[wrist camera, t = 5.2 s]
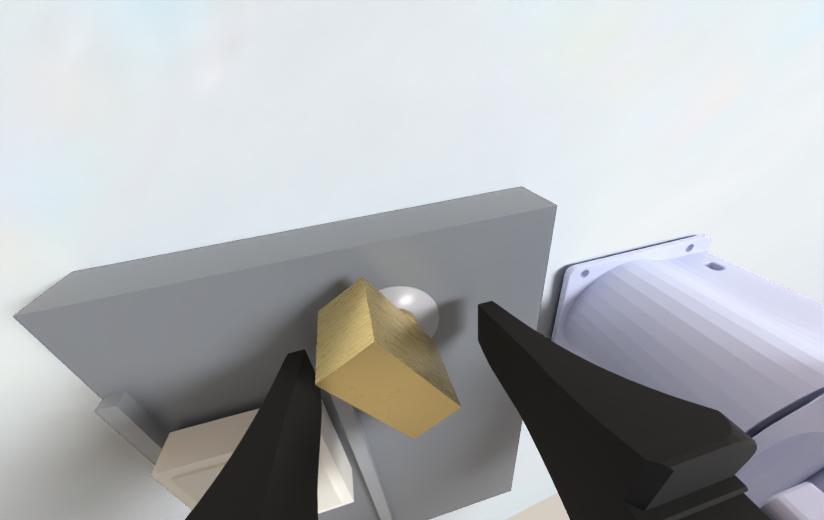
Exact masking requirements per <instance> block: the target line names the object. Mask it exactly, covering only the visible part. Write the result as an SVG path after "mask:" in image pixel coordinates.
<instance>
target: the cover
mask: <svg viewBox="0 0 824 520" xmlns="http://www.w3.org/2000/svg"><path fill="white" fill-rule="evenodd" d="M321 401H322V399H321ZM259 409H260V408H259ZM259 409H255V410H251V411H247V412H244V413H240V414H236V415H233V416H229V417H225V418H222V419H218V420H214V421H211V422H207V423H203V424H199V425H196V426H192V427H188V428H185V429H181V430H177V431H174V432H170V433H169V435H168V438H167V440H166V442H165V444H164V446H163V449H162V451H161V453H160V455H159V458H158V460H157V462H156V464H155V466H154V469H153V471H152V473H151V475H150V476H152V477H153V478H154V479H155V480H156V481H158V482H159V483H160V484H161V485H162V486H164V487H165V488H166V489H167V490H169V491H170V492H171V493H172V494H173V495H175V496H176V497H177V498H178V499H179V500H181V501H182V502H183V503H184V504H185V505H187V506H188V507H189V508H190V509H191V510H193V509H194V507H195V506H196V505H197V503H198V502H199V501H200V499H201V498H202V497H203V495H204V494H205V492H206V491H207V490H208V488H209V487H210V486H211V484H212V483H213V481H214V480H215V479H216V477H217V476H218V474H219V473H220V472H221V470H222V469H223V467H224V466H225V464H226V463H227V461H228V460H229V458H230V457H231V455H232V454H233V452H234V451H235V449H236V447H237V446H238V444H239V443H240V441H241V439H242V438H243V436H244V434H245V433H246V431H247V429H248V428H249V426H250V424H251V423H252V421H253V419H254V417H255V416H256V414H257V412H258V410H259ZM317 494H318V514H319V513H322V512H325V511H328V510H331V509H334V508H337V507H340V506H343V505H346V504H349V503H352V502H354V493H353V477H352V468H351V465H350V463H349V461H348V458H347V456H346V454H345V451H344V449H343V447H342V445H341V442H340V440H339V438H338V435H337V433H336V431H335V428H334V426H333V424H332V422H331V419H330V417H329V415H328V412H327V410H326V408H325V405H324V403H323V401H322V420H321V437H320V452H319V468H318V492H317Z"/></svg>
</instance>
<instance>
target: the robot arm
mask: <svg viewBox="0 0 824 520" xmlns="http://www.w3.org/2000/svg"><path fill="white" fill-rule="evenodd" d="M710 242H711V238H710V237H708V236H706V235H697V236H693V237H689V238H685V239H680V240H676V241H672V242H668V243H664V244H660V245H655V246H651V247H647V248H643V249H639V250H634V251H630V252H626V253H622V254H618V255H613V256H609V257H605V258H601V259H597V260H592V261H588V262H584V263H580V264H576V265H573V266H570V267H569V268H568V269H567V270H566V272H565V274H564V279H563V284H562V289H561V294H560V299H559V304H558V309H557V314H556V319H555V324H554V329H553V334H552V339H551V340H549V339H548V338H546V337H545V336H543V335H541V334H540V333H538V332H537V331H535V330H534V329H532V328H531V327H529V326H528V325H526V324H525V323H523V322H522V321H520V320H519V319H517V318H516V317H515V316H513V315H512V314H510V313H509V312H508V311H506V310H505V309H503V308H502V307H501V306H499V305H498V304H496V303H495V302H493V301H489V302H485V303H481V304H478V342H479V344H480V346H481V349H482V351H483V353H484V355H485V357H486V359H487V362H488V364H489V365H490V367H491V369H492V370H493V372H494V374H495V375H496V377H497V378H498V380H499V382H500V383H501V385H502V387H503V388H504V390H505V391H506V393H507V395H508V396H509V398H510V400H511V401H512V403H513V404H514V406H515V408H516V409H517V411H518V412H519V414H520V416H521V418H522V419H523V421H524V423H525V425H526V427H527V429H528V431H529V433H530V435H531V437H532V439H533V441H534V443H535V445H536V447H537V449H538V451H539V453H540V455H541V457H542V459H543V461H544V463H545V466H546V468H547V470H548V472H549V474H550V476H551V478H552V480H553V483H554V485H555V487H556V489H557V491H558V494H559V496H560V498H561V500H562V502H563V505H564V507H565V509H566V511H567V513H568V516H569V518H570V520H824V304H823V303H820V302H818V301H816V300H814V299H811V298H809V297H807V296H805V295H802V294H800V293H798V292H796V291H793V290H791V289H789V288H787V287H785V286H782V285H780V284H778V283H776V282H773V281H771V280H769V279H767V278H764V277H762V276H760V275H758V274H755V273H753V272H751V271H749V270H746V269H744V268H742V267H740V266H738V265H735V264H733V263H731V262H729V261H726V260H724V259H722V258H720V257H717V256H715V255H713V254H711V253H708V252H706V250H707V248H708V246H709V244H710ZM315 376H316V373H315V371H314V368H313V366H312V364H311V362H310V359H309V357H308V355H307V353H306V350H305V349H303V350H299V351H296V352H292V353H288V354H287V356H286V357H285V359H284V361H283V363H282V366H281V368H280V370H279V372H278V374H277V376H276V378H275V380H274V382H273V384H272V386H271V388H270V390H269V392H268V394H267V395H266V397H265V399H264V401H263V403H262V405H261V407H260V409H259V410H258V412H257V414H256V416H255V417H254V419H253V421H252V423H251V424H250V426H249V428H248V429H247V431H246V433H245V434H244V436H243V438H242V439H241V441H240V443H239V444H238V446H237V447H236V449H235V451H234V452H233V454H232V455H231V457H230V458H229V460H228V461H227V463H226V464H225V466H224V467H223V469H222V470H221V472H220V473H219V474H218V476H217V477H216V479H215V480H214V481H213V483H212V484H211V486H210V487H209V488H208V490H207V491H206V492H205V494H204V495H203V497H202V498H201V499H200V501H199V502H198V503H197V505H196V506H195V507H194V509H193V510H192V511H191V513H190V514H189V515H188V516H187V518H186V519H185V520H318V494H317V492H318V468H319V452H320V437H321V420H322V401H321V388H320V387H318V386H316V385H315Z"/></svg>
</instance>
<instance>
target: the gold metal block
mask: <svg viewBox="0 0 824 520" xmlns="http://www.w3.org/2000/svg"><path fill="white" fill-rule="evenodd" d="M315 385H316V386H318V387H320V388H322V389H323V390H325V391H327V392H329V393H331V394H333V395H334V396H336V397H338V398H340V399H342V400H343V401H345V402H347V403H349V404H351V405H353V406H354V407H356V408H358V409H360V410H362V411H364V412H365V413H367V414H369V415H371V416H373V417H374V418H376V419H378V420H380V421H382V422H384V423H385V424H387V425H389V426H391V427H393V428H395V429H396V430H398V431H400V432H402V433H404V434H406V435H407V436H409V437H411V438H413V439H415V438H416V437H418V436H419V435H421V434H422V433H424V432H425V431H427V430H428V429H430V428H431V427H433V426H434V425H436V424H437V423H439V422H440V421H442V420H443V419H445V418H446V417H448V416H449V415H451V414H452V413H454V412H455V411H457V410H458V409H460V408H461V404H460V402H459V400H458V397H457V395H456V392H455V390H454V387H453V385H452V383H451V380H450V378H449V375H448V373H447V371H446V368H445V366H444V363H443V361H442V358H441V356H440V354H439V351H438V349H437V346H436V344H435V341H433V340H432V339H431V338H430V337H429V336H428V335H427V334H426V333H425V332H424V331H422V330H421V329H420V327H419V324H418V322H417V319H416V317H415V315H414V314H413V313H411V312H410V311H408V310H405V309H398V308H397V307H396V306H395V305H394V304H393V303H392V302H391V301H389V300H388V299H387V298H386V297H385V296H384V295H383V294H382V293H381V292H380V291H378V290H377V289H376V288H375V287H374V286H373V285H372V284H371V283H370V282H369V281H367V280H366V279H365V278H364V277H361V278H360V279H359V280H358V281H356V282H355V283H354V284H352V285H351V286H350V287H349V288H347V289H346V290H345V291H343V292H342V293H341V294H340V295H338V296H337V297H336V298H334V299H333V300H332V301H331V302H329V303H328V304H327V305H325V306H324V307H323V308H322V309H320V310H319V311H318V328H317V352H316V376H315Z"/></svg>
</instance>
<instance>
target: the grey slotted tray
mask: <svg viewBox="0 0 824 520" xmlns="http://www.w3.org/2000/svg"><path fill="white" fill-rule="evenodd" d="M556 209H557V205H556V204H554V203H552V202H550V201H548V200H546V199H544V198H543V197H541V196H539V195H537V194H535V193H533V192H531V191H530V190H528V189H526V188H524V187H516V188H511V189H506V190H501V191H495V192H490V193H485V194H480V195H474V196H469V197H464V198H459V199H453V200H448V201H443V202H437V203H432V204H427V205H422V206H416V207H411V208H406V209H401V210H395V211H390V212H385V213H380V214H374V215H369V216H364V217H358V218H353V219H348V220H343V221H337V222H332V223H327V224H322V225H316V226H311V227H306V228H301V229H295V230H290V231H285V232H279V233H274V234H269V235H264V236H258V237H253V238H248V239H243V240H237V241H232V242H227V243H222V244H216V245H211V246H206V247H200V248H195V249H190V250H185V251H179V252H174V253H169V254H164V255H158V256H153V257H148V258H143V259H137V260H132V261H127V262H121V263H116V264H111V265H106V266H100V267H95V268H90V269H85V270H79V271H74V272H72V273H70V274H69V275H68V276H66V277H65V278H64V279H62V280H61V281H59V282H58V283H57V284H55V285H54V286H53V287H51V288H50V289H49V290H47V291H46V292H45V293H43V294H42V295H41V296H39V297H38V298H37V299H35V300H34V301H33V302H31V303H30V304H29V305H27V306H26V307H24V308H23V309H22V310H20V311H19V312H18V313H16V314H15V315H14V316H13V317H14V318H15V319H16V320H17V321H18V322H19V323H20V324H21V325H22V326H24V327H25V328H26V329H27V330H28V331H29V332H30V333H31V334H32V335H33V336H34V337H35V338H36V339H38V340H39V341H40V342H41V343H42V344H43V345H44V346H45V347H46V348H47V349H48V350H49V351H50V352H52V353H53V354H54V355H55V356H56V357H57V358H58V359H59V360H60V361H61V362H62V363H63V364H65V365H66V366H67V367H68V368H69V369H70V370H71V371H72V372H73V373H74V374H75V375H76V376H77V377H79V378H80V379H81V380H82V381H83V382H84V383H85V384H86V385H87V386H88V387H89V388H90V389H91V390H93V391H94V392H95V393H96V394H97V395H98V396H99V397H100V398H101V399H102V401H101V403H100V404H99V406H98V407H97V408H96V410H95V411H94V412H95V413H97V414H98V415H99V416H100V417H101V418H102V419H103V420H105V421H106V422H107V423H108V424H109V425H110V426H111V427H113V428H114V429H115V430H116V431H117V432H118V433H119V434H121V435H122V436H123V437H124V438H125V439H126V440H127V441H129V442H130V443H131V444H132V445H133V446H134V447H135V448H137V449H138V450H139V451H140V452H141V453H142V454H143V455H145V456H146V457H147V458H148V459H149V460H150V461H151V462H153V463H154V464H156V462H157V460H158V458H159V455H160V453H161V451H162V449H163V446H164V444H165V442H166V440H167V438H168V435H169V433H170V432H174V431H177V430H181V429H185V428H188V427H192V426H196V425H199V424H203V423H207V422H211V421H214V420H218V419H222V418H225V417H229V416H233V415H236V414H240V413H244V412H247V411H251V410H255V409H259V408H260V407H261V405H262V403H263V401H264V399H265V397H266V395H267V394H268V392H269V390H270V388H271V386H272V384H273V382H274V380H275V378H276V376H277V374H278V372H279V370H280V368H281V366H282V363H283V361H284V359H285V357H286V356H287V354H288V353H292V352H296V351H299V350H303V349H305V350H306V353H307V355H308V357H309V359H310V362H311V364H312V366H313V368H314V371H315V373H316V352H317V328H318V311H319V310H320V309H322V308H323V307H324V306H325V305H327V304H328V303H329V302H331V301H332V300H333V299H334V298H336V297H337V296H338V295H340V294H341V293H342V292H343V291H345V290H346V289H347V288H349V287H350V286H351V285H352V284H354V283H355V282H356V281H358V280H359V279H360V278H361V277H364V278H365V279H366V280H367V281H369V282H370V283H371V284H372V285H373V286H374V287H375V288H376V289H377V290H378V291H380V292H381V293H382V294H383V295H384V296H385V297H386V298H387V299H388V300H389V301H391V302H392V303H393V304H394V305H395V306H396V307H397V308H398V309H405V310H408V311H410V312H411V313H413V314H414V315H415V317H416V319H417V322H418V324H419V327H420V329H421V330H422V331H424V332H425V333H426V334H427V335H428V336H429V337H430V338H431V339H432V340H433V341H435V344H436V346H437V349H438V351H439V354H440V356H441V358H442V361H443V363H444V366H445V368H446V371H447V373H448V375H449V378H450V380H451V383H452V385H453V387H454V390H455V392H456V395H457V397H458V400H459V402H460V404H461V408H460V409H458V410H457V411H455V412H454V413H452V414H451V415H449V416H448V417H446V418H445V419H443V420H442V421H440V422H439V423H437V424H436V425H434V426H433V427H431V428H430V429H428V430H427V431H425V432H424V433H422V434H421V435H419V436H418V437H416V438H415V439H413V438H411V437H409V436H407V435H406V434H404V433H402V432H400V431H398V430H396V429H395V428H393V427H391V426H389V425H387V424H385V423H384V422H382V421H380V420H378V419H376V418H374V417H373V416H371V415H369V414H367V413H365V412H364V411H362V410H360V409H358V408H356V407H354V406H353V405H351V404H349V403H347V402H345V401H343V400H342V399H340V398H338V397H336V396H334V395H333V394H331V393H329V392H327V391H325V390H323V389H322V388H321V399H322V401H323V403H324V405H325V408H326V410H327V412H328V415H329V417H330V419H331V422H332V424H333V426H334V428H335V431H336V433H337V435H338V438H339V440H340V442H341V445H342V447H343V449H344V451H345V454H346V456H347V458H348V461H349V463H350V465H351V468H352V477H353V493H354V502H352V503H349V504H346V505H343V506H340V507H337V508H334V509H331V510H328V511H325V512H322V513H319V514H318V520H429V519H432V518H434V517H437V516H440V515H443V514H446V513H449V512H451V511H454V510H457V509H460V508H463V507H466V506H469V505H471V504H474V503H477V502H480V501H483V500H486V499H489V498H491V497H494V496H497V495H500V494H503V493H506V492H508V491H511V487H512V480H513V474H514V468H515V462H516V456H517V450H518V443H519V437H520V431H521V425H522V418H521V416H520V414H519V412H518V411H517V409H516V408H515V406H514V404H513V403H512V401H511V400H510V398H509V396H508V395H507V393H506V391H505V390H504V388H503V387H502V385H501V383H500V382H499V380H498V378H497V377H496V375H495V374H494V372H493V370H492V369H491V367H490V365H489V364H488V362H487V359H486V357H485V355H484V353H483V351H482V349H481V346H480V344H479V342H478V304H481V303H485V302H489V301H493V302H495V303H496V304H498V305H499V306H501V307H502V308H503V309H505V310H506V311H508V312H509V313H510V314H512V315H513V316H515V317H516V318H517V319H519V320H520V321H522V322H523V323H525V324H526V325H528V326H529V327H531V328H532V329H534V330H535V331H537V326H538V320H539V314H540V308H541V302H542V296H543V289H544V283H545V277H546V271H547V265H548V259H549V252H550V246H551V240H552V234H553V228H554V222H555V216H556Z"/></svg>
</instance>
